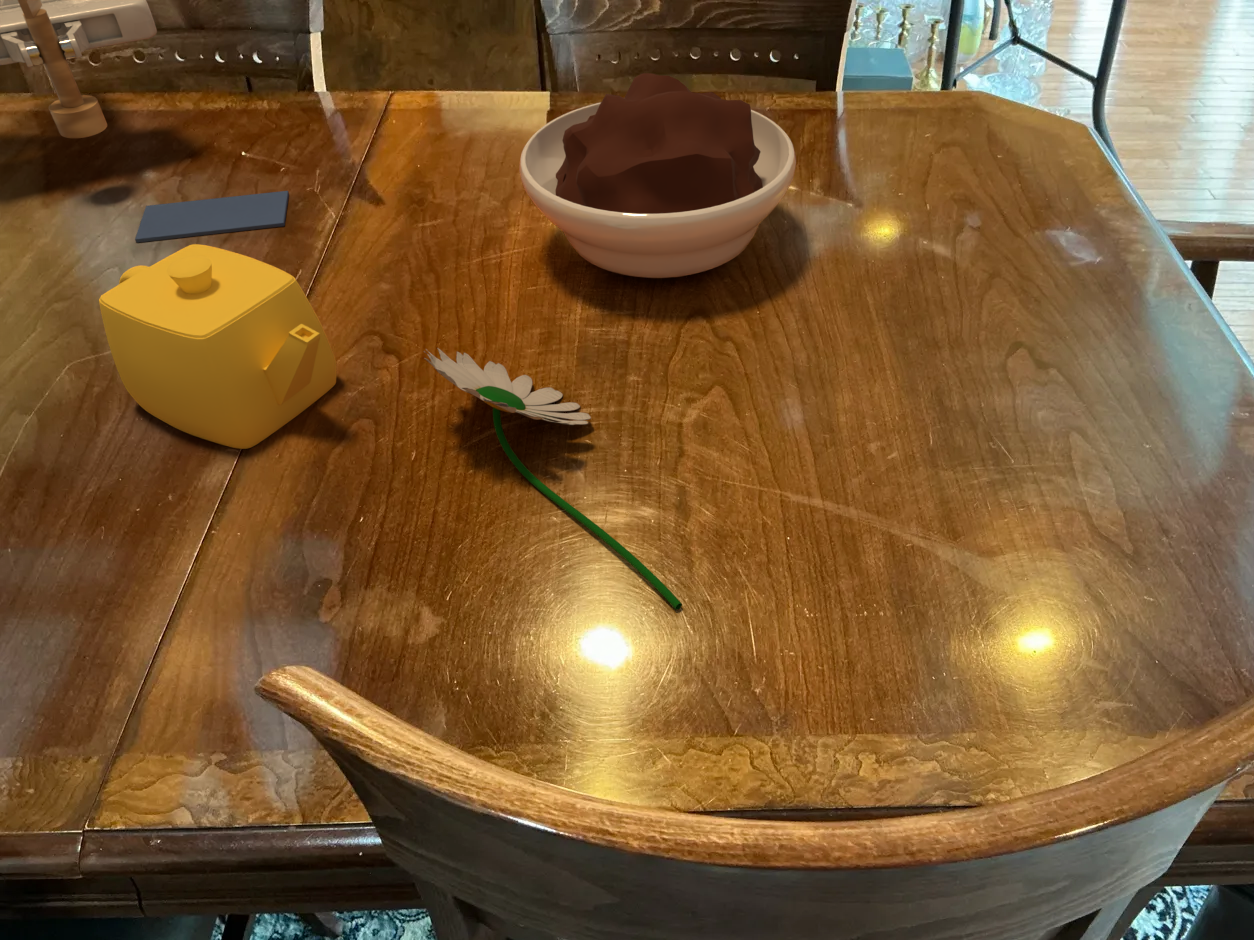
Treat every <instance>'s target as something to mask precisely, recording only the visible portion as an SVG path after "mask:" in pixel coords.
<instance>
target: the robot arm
mask: <svg viewBox="0 0 1254 940" xmlns="http://www.w3.org/2000/svg"><path fill="white" fill-rule="evenodd" d="M40 1H41V3H42V7H41V8H40V9H45V10H46V11H47V14H48V16H49V19H50V21H51V23H52V26H53V28H54V31H55V33H56V36H57V38H58V41H59V43H60V46H61V48H62V50H63V53H64V55H65V58H66V60H67V61H69V60H74V59H75V60H76V59H81V58H84V57H83V54H82V53H83V52H84V51H87V50H95V49H99V48H104V47H109V46H115V45H120V44H125V43H126V44H127V43H132V42H137V41H143V40H149V39H152V38H154V36H156V35H157V33H158V29H157V26H156V23H155V20H154V17H153V13H152V12H151V9H150V6H149V4H148V1H147V0H40ZM17 63H23V64H26V66H27V68H32V67H36V66H42V65H44V62H43V60H42V57H41V56H40V53H39V50H38V48H37V46H36V44H35V42H34V40H33V37H32V35H31V33H30V30H29V28H28V26H27V24H26V21H25V19H24V17H23V11H22V9H21V6H20V4H19V2H18V0H0V66H6V65H12V64H17Z"/></svg>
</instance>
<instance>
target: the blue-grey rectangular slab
mask: <svg viewBox="0 0 1254 940" xmlns="http://www.w3.org/2000/svg"><path fill="white" fill-rule="evenodd" d="M289 197H290V193H289V190H281V191H272V192H263V193H254V194H243V195H235V196H234V195H233V196H225V197H215V198H207V199H206V198H205V199H196V200H188V201H186V200H185V201H178V202H169V203H158V204H149V205H145V208H144V210H143V214H142V217H141V220H140V223H139V225H138V229H137V232H136V235H135V238H134V240H135V243H146V242H154V241H155V242H156V241H163V240H164V241H165V240H172V239H180V238H181V239H183V238H191V237H198V236H199V237H200V236H208V235H219V234H228V233H235V232H245V231H252V230H262V229H271V228H280V227H285V226H286V218H287V211H288V204H289Z"/></svg>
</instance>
